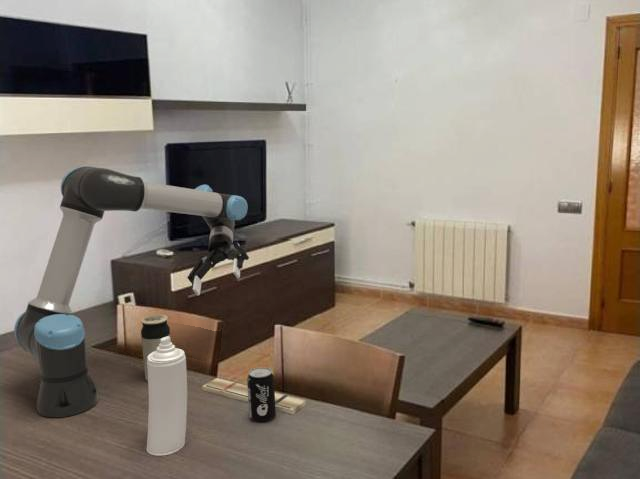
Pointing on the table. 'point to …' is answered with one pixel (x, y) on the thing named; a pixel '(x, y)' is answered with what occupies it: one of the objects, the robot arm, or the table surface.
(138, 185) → the robot arm
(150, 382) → the spray can
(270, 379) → the beverage can
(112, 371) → the table surface
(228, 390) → the birch straightedge
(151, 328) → the travel mug
